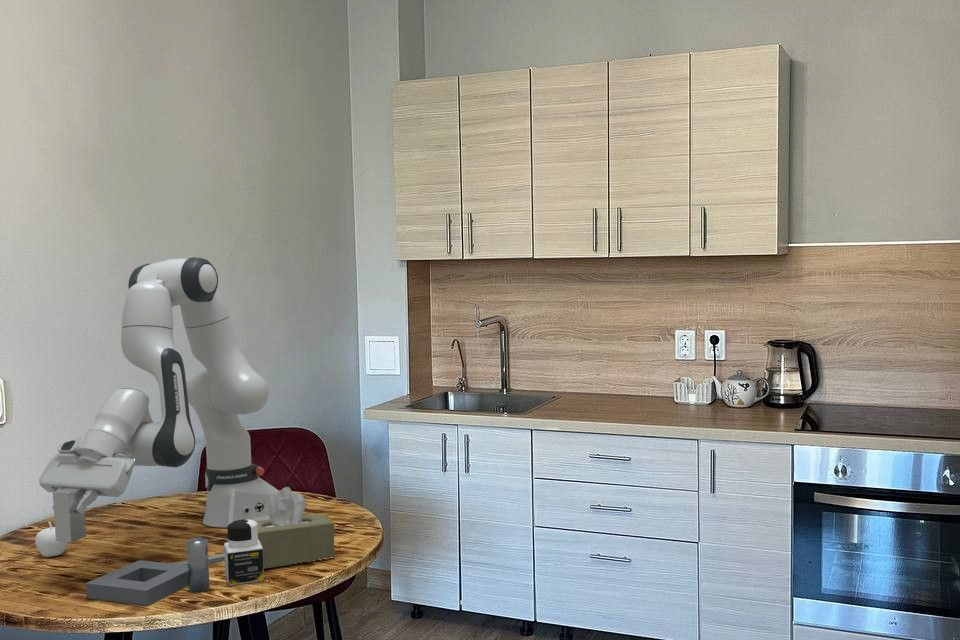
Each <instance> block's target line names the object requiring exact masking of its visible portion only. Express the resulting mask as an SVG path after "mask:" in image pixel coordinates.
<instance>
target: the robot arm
mask: <svg viewBox="0 0 960 640" xmlns="http://www.w3.org/2000/svg"><path fill="white" fill-rule="evenodd" d="M127 284H128V286H127V287H128V291H127V293H126V296H125V297H126V298H125V302H124V305H123V311H122V317H121V319H122V320H121V333H120V334H121V335H120V345H121V350H122V354H123V355H124V357H125V358H126V359H127V361H129V363H131V364H132V365H133V366H135V368H136V367H137V368H139V369H140V370H143V371H146V372H147V373H149V374H151V375H152V376H153V377H154V378H155V379H156V381H157V384H158V388H159V398H160V399H159V401H160V408H161V409H160V410H161V419H160V422H159V421H158V422H157V421H156V422H155V421H154V420H153V419H152V416H151V414H150V409H149V403H150V397H149V396H148V395H147V394H146V393H145V392H143V391H141V390H138V389H134V388H132V387H131V388H130V387H125V388H124V387H123V388H117V389H115V390H114V391H113V392H112V393H111V394H110V395H109V396H108V398H106V400H105V402H104V403H103V404H102V406H101V407H100V409H99V411H98V413H97V414H96V416H95V419H94V423H93V424H92V426H91V427H90V428H89V429H88V430H87V431H86V433H85V434H84V435H83V436H82V435H81V436H78V438H74V439H72V440H68V441H64V442H62V443H60V444H59V445H58V447H57V452H58V453H56V454H55V455H53V457H52V458H51V459H50V460H49V462H48V463H47V465H46V466H45V467H44V469H43V472H42V473H41V476H40V477H39V482H38V483H39V486H40V487H41V488H42V489H43V490H45V491H46V492H48V493H53V492H55V491H58V490H61V489H64V488H81V489H83V493H84V498H83V499H82V500H81V501H80V502H76V503H75V506H74V507H73V510H74V511H75V512H76V513H84V511H85V512H86V509H87V507H89V506H90V505H91V504H93V502H95V501H96V500H97V499H98V496H100V497H109V498H110V497H112V498H113V497H114V498H119V497H121V496H122V495H123V494H124V493H125V492H126V489H127V488H128V486H129V485H128V484H129V483H130V479H131V476H132V473H133V469H134V467H141V466H142V467H166V468H179V467H181V466H183V465H184V464H186V463H187V462H188V461H189V460H190V458H191V457H192V455H193V453H194V451H195V448H196V437H195V436H196V435H195V431H194V429H193V425H192V422H191V416H190V415H191V414H190V406H191V407H192V409H193V410H194V411H195V413H196V415H197V418H198V421H199V422H200V426H201V428H202V431H203V436H204V442H205V451H206V452H205V453H206V467H205V473H204V476H205V477H204V478H205V480H204V481H205V488H206V490H207V491H206V504H205V511H204V515H203V519H202V524H203V525H205V526H208V527H213V528H227V526H228V525H229V524H230V523H232V522H234V521H237V520H243V519H249V520H253V521H260V520H268V519H270V518H269V515H268V513H267V510H266V507H265V504H264V502H263V501H264V500H266V499H268V498H269V497H270V496H271V495H272V494H277V493H278V492H280V491H279V490H278V489H277V488H276V487H275V486H273V485H272V484H270V483H269V482H267V481H265V480H264V479H262V478H260V476H263V475H264V474H265V469H264V468H263V467H262V466H258V465H256V464H254V463H252V451H251V450H252V448H251V447H252V446H251V436H250V433H249V431H248V430H247V429H246V428H245V427H244V426H243V425H242V423H241V421H240V419H239V416H238V415H247V414H253V413H257V412H259V411H261V410H262V409H263V408H264V407H265V405H266V404H267V402H268V400H269V396H270V395H269V394H270V393H269V392H270V390H269V389H270V388H269V385H268V383H267V381H266V380H265V378H264V377H263V376H261V375H260V374H259V373H258V372H256V371H255V370H254V369H253V367H252V366H251V365H250V363H249V361H248V360H247V358H246V356H244V354H243V352H242V350H241V349H240V347H239V345H238V344H239V343H238V342H237V340H236V339H237V338H236V337H235V333H234V329H233V326H232V322H231V319H230V315H229V312H228V311H229V310H228V307H227V305H226V302H225V299H224V298H223V295H222V293H221V290H220V289H219V276H218V273H217V270H216V268H215V266H214V265H213V264H212V263H211V262H210V261H209V260H208V259H206V258H204V257H196V256H195V257H194V256H192V257H189V258H169V259H166V260H162V261H157V262H153V263H144V264H142V265H140V266H138V267H136V268H134V269H133V270H132V271H131V273H130V276H129V279H128V283H127ZM176 306H177V307H178V306H179V309H180V313H181V317H182V322H183V326H184V329H185V333H186V337H187V339H188V344H189V347H190V352H191V354H192V356H193V357H194V358H195V359H196V360H197V361H199V363H200V364H201V365H202V366H204V368H205V369H204V370H201V371H197V372H195V373H193V374H192V375H190V376H189V377H188V379H186V369H185V365H184V361H183V358H182V356H181V354H180V353H179V352H178V351H177V349H176V346H175V341H174V335H173V334H174V333H173V332H174V331H173V329H174V322H173V321H174V319H173V318H174V317H173V316H174V315H173V314H174V313H173V307H176ZM51 509H52V510H54V505H53V504H52V507H51Z"/></svg>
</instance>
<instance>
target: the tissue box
mask: <svg viewBox="0 0 960 640" xmlns="http://www.w3.org/2000/svg"><path fill="white" fill-rule="evenodd" d="M263 502H264V504H265V507H266V510H267V513H268V515H269V518H270V519H268V520H260V521H256V522H257V525H258V540H259V541H260V543H261V545H262V547H263V560H264V570H267V569H272V568H273V569H274V568H279V567H284V566H293V565H298V564H297V563H300V564H303V563H302V562H307V563H309V562H308V561H313V560H319V559H324V558H330V557H334V558H335V523H334V522H333V521H332V520H330V519H329V518H328V517H327V516H325V515H323V514H322V513H321V512H318V513H310V514H304V513H305V509H306V505H307V504H306V503H307V500H306V498H305V497H304V495H303V494H302V493H294V492H293V491H292V489H291V488H290V486H285V487H283V488H282V489H280V491H279V492H278V493H277V494H272V495H271V496H270V497H269V498H268V499H266V500H264V501H263ZM292 564H293V565H292Z"/></svg>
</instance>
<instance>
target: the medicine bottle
mask: <svg viewBox="0 0 960 640" xmlns="http://www.w3.org/2000/svg"><path fill="white" fill-rule="evenodd" d="M226 529H227V542H225V543H223V550H224V551H223V552H224V553H223V554H225V561H224V573H225V575H224V576H225V578H226V581H227V583H228V585H229V586H237V585H238V586H239V585H245V584H244V583H246V584H251V583H258V581H259V582H264V581H265V569H264V560H263V547H262V545H261V543H260V541H259V540H258V525H257V522H256V521H253V520H249V519H243V520H237V521H234V522H232V523H230V524H229V525H228V526H227V527H226ZM263 580H264V581H263Z"/></svg>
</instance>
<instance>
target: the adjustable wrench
mask: <svg viewBox="0 0 960 640" xmlns="http://www.w3.org/2000/svg"><path fill="white" fill-rule="evenodd" d="M222 561H224V562H225V554H224V553H220V554H219V553H218V554H214V555H208V563H209V565H212V563H213V564H218V563H223V562H222ZM217 562H218V563H217ZM169 563H170V564H179V565H188V561H187V560H180V561H177V562H169Z"/></svg>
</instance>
